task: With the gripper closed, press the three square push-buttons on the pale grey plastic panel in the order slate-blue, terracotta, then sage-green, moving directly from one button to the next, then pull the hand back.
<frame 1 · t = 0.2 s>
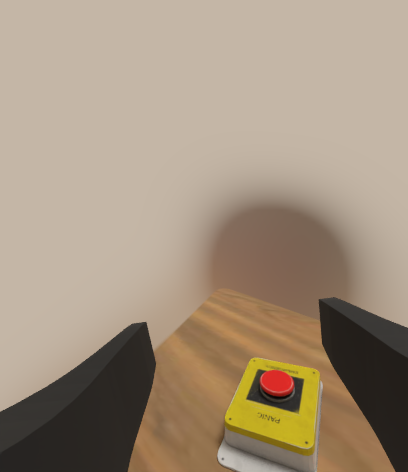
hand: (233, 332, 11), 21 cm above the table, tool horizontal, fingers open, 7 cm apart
emergency button: (276, 420, 31), on the table
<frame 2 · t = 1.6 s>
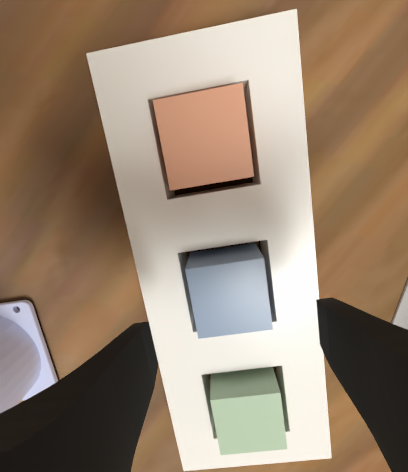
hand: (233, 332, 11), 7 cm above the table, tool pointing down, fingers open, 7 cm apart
terracotta button: (205, 142, 14), point 3 cm above the table, slide at 0.0 cm
sage-green button: (246, 403, 17), point 3 cm above the table, slide at 0.0 cm
slate-blue button: (228, 288, 15), point 3 cm above the table, slide at 0.0 cm
button panel: (226, 269, 18), on the table
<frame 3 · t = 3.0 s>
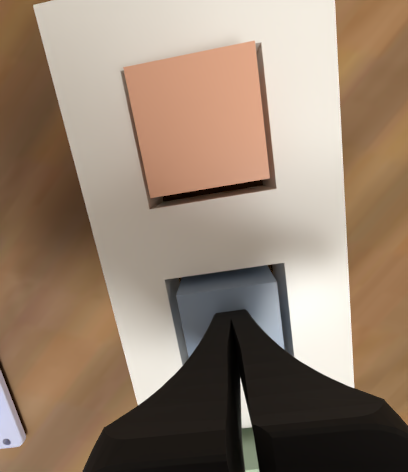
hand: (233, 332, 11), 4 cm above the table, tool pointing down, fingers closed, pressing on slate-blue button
terracotta button: (201, 131, 10), point 3 cm above the table, slide at 0.0 cm
sage-green button: (254, 468, 13), point 3 cm above the table, slide at 0.0 cm
slate-blue button: (230, 315, 12), point 2 cm above the table, slide at 0.9 cm, touching gripper
button panel: (228, 294, 15), on the table
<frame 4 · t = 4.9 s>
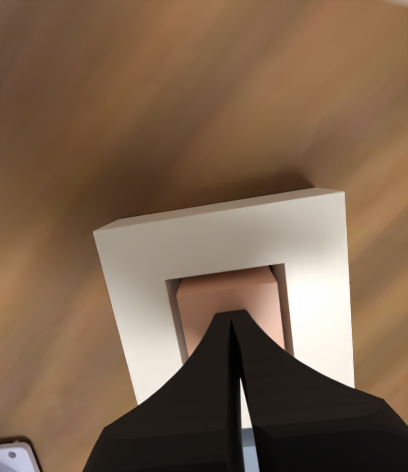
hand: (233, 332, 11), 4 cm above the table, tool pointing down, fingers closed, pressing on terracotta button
terracotta button: (230, 315, 12), point 2 cm above the table, slide at 0.9 cm, touching gripper
slate-blue button: (252, 448, 14), point 2 cm above the table, slide at 1.0 cm
button panel: (247, 415, 16), on the table
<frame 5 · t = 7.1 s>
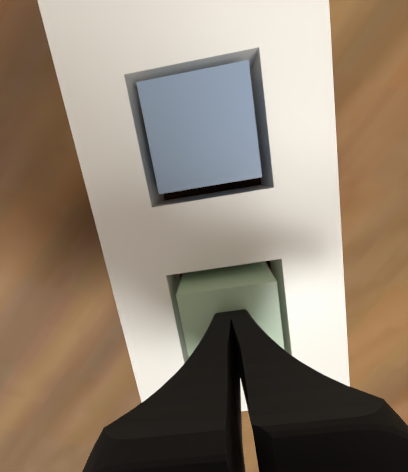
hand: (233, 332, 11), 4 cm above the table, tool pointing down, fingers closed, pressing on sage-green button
sage-green button: (230, 314, 12), point 3 cm above the table, slide at 0.4 cm, touching gripper
slate-blue button: (202, 136, 11), point 2 cm above the table, slide at 1.0 cm
button panel: (204, 141, 13), on the table
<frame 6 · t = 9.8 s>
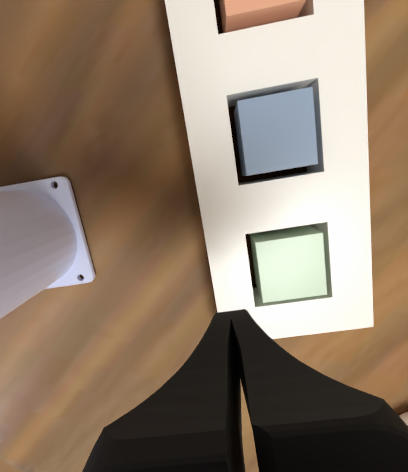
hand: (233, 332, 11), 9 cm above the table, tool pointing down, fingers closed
sage-green button: (285, 261, 18), point 2 cm above the table, slide at 1.0 cm
slate-blue button: (272, 136, 16), point 2 cm above the table, slide at 1.0 cm
button panel: (266, 140, 18), on the table
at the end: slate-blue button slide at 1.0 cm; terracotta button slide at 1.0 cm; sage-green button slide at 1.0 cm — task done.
